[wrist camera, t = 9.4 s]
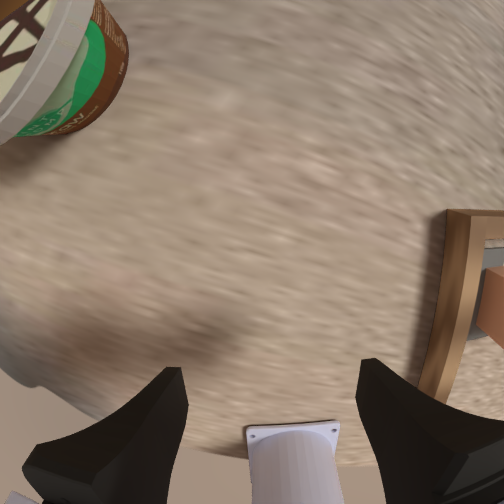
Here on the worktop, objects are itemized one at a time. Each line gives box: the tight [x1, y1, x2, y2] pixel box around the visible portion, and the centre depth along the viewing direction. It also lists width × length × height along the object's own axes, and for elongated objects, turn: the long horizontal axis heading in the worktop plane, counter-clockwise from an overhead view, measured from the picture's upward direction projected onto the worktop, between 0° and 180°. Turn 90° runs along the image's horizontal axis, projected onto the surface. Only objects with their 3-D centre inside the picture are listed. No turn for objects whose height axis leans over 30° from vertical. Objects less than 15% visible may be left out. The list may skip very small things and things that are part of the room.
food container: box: [0, 0, 129, 145], centre depth 13 cm, size 12×6×10 cm, turn 112°
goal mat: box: [466, 247, 504, 341], centre depth 20 cm, size 8×8×1 cm
